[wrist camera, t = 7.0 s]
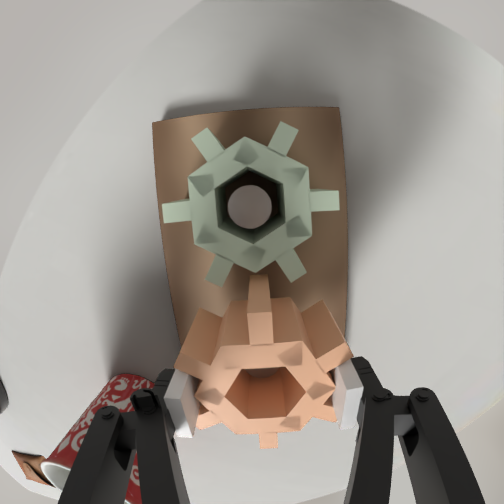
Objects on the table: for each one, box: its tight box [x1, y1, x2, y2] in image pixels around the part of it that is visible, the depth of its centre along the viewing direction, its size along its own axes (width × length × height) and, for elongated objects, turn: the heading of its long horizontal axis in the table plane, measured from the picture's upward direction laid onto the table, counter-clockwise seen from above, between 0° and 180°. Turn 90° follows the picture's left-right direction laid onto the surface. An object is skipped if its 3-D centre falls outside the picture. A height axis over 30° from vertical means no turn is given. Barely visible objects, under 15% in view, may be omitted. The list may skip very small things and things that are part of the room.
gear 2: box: [173, 274, 354, 449], centre depth 15 cm, size 9×8×5 cm
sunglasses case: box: [12, 451, 56, 488], centre depth 32 cm, size 18×7×7 cm, turn 116°
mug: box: [41, 374, 154, 504], centre depth 19 cm, size 13×9×14 cm
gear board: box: [152, 107, 348, 378], centre depth 18 cm, size 13×21×8 cm, turn 4°
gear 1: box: [162, 121, 340, 287], centre depth 17 cm, size 9×8×5 cm
